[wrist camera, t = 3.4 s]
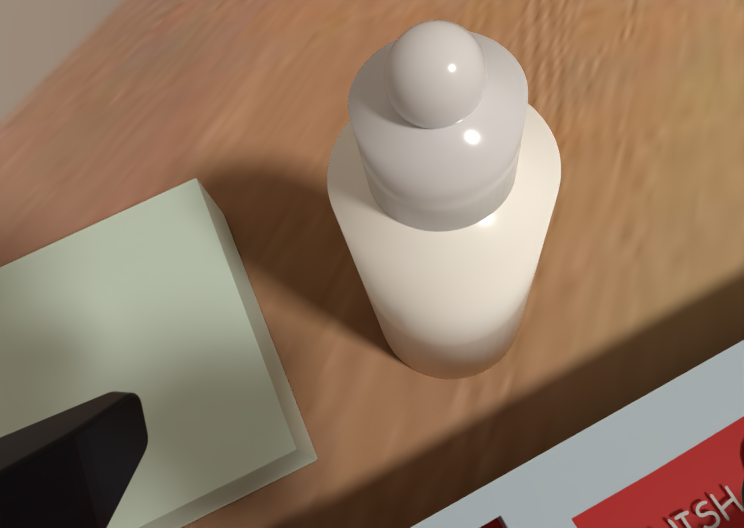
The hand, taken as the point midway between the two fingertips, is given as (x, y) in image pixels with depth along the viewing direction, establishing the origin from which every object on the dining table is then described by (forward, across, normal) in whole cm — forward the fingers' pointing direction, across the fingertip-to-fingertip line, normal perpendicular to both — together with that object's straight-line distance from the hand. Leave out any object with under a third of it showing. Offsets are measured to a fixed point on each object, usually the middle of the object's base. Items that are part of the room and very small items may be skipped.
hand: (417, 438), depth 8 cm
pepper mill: (+14, 0, +4) cm, 14 cm away
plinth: (+11, +13, +7) cm, 18 cm away
